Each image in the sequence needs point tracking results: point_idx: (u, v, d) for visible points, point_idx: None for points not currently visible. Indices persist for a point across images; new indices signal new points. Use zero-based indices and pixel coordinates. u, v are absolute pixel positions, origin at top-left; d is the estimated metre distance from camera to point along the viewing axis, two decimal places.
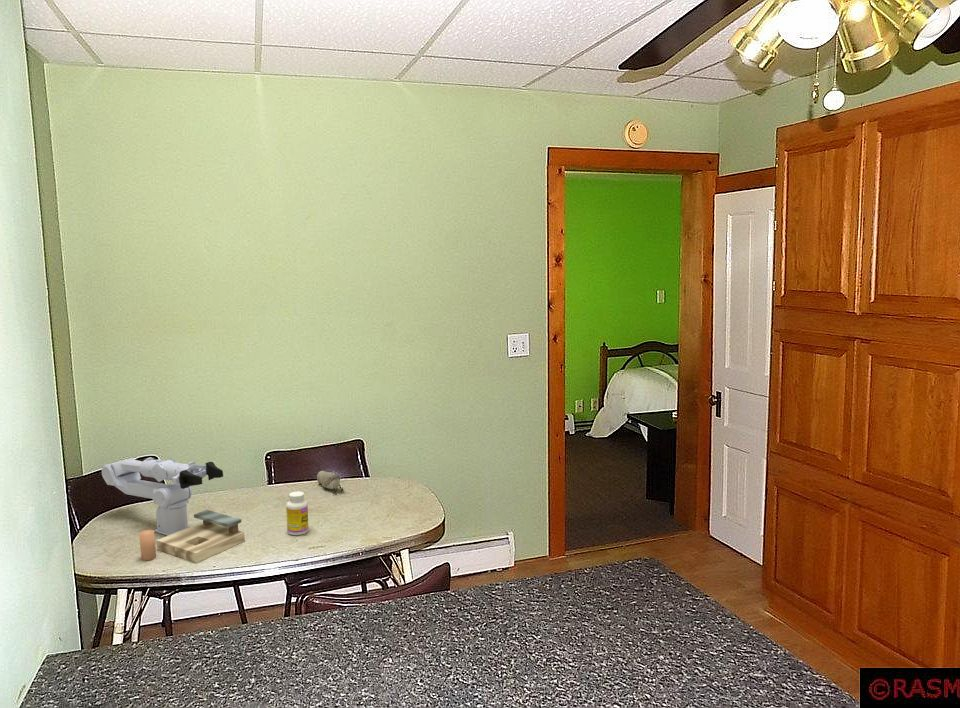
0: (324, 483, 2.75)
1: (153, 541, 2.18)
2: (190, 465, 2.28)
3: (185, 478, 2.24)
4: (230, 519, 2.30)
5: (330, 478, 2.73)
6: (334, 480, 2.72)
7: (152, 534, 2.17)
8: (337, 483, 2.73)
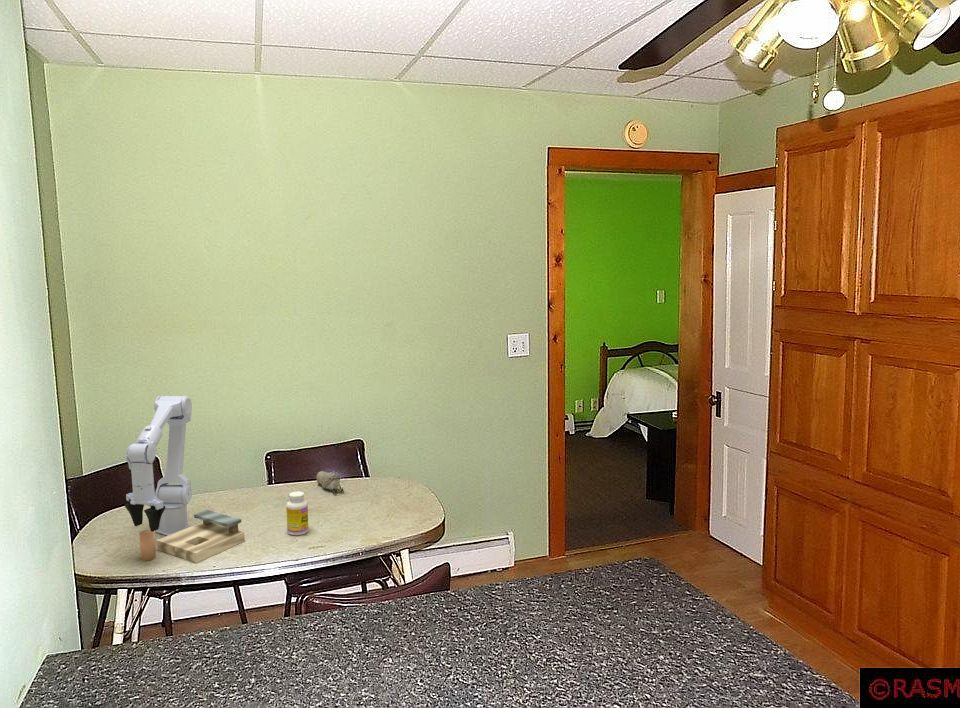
0: (324, 483, 2.75)
1: (153, 541, 2.18)
2: None
3: None
4: (230, 519, 2.30)
5: (330, 478, 2.73)
6: (334, 480, 2.72)
7: (152, 534, 2.17)
8: (337, 483, 2.73)
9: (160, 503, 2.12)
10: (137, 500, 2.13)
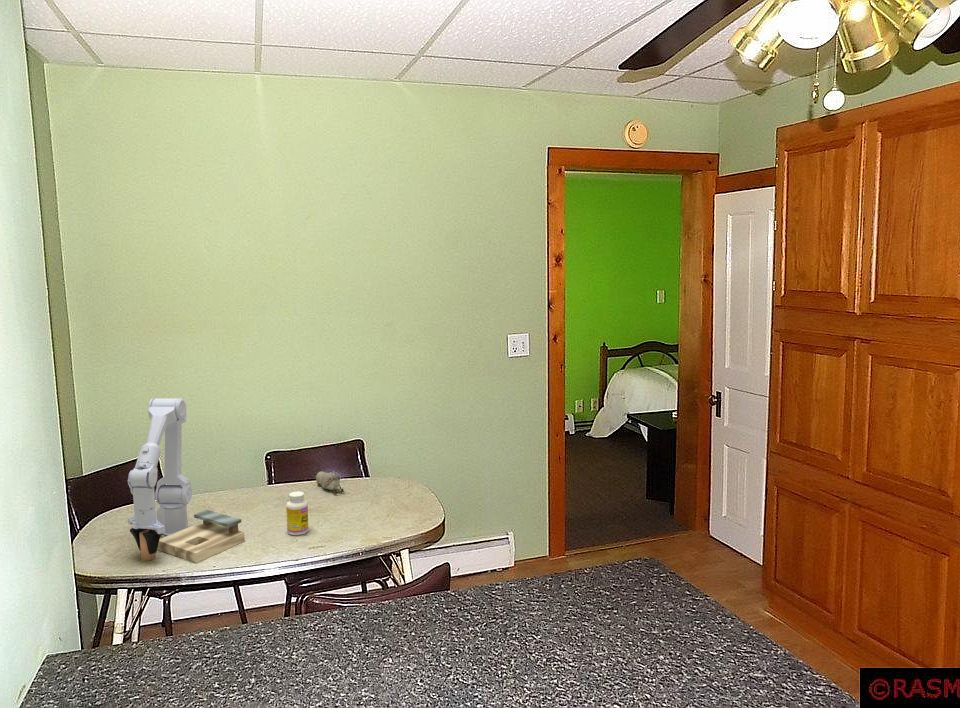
0: (324, 484, 2.74)
1: None
2: None
3: None
4: (230, 519, 2.30)
5: (330, 479, 2.72)
6: (334, 481, 2.72)
7: None
8: (337, 484, 2.73)
9: (162, 527, 2.14)
10: (139, 524, 2.14)
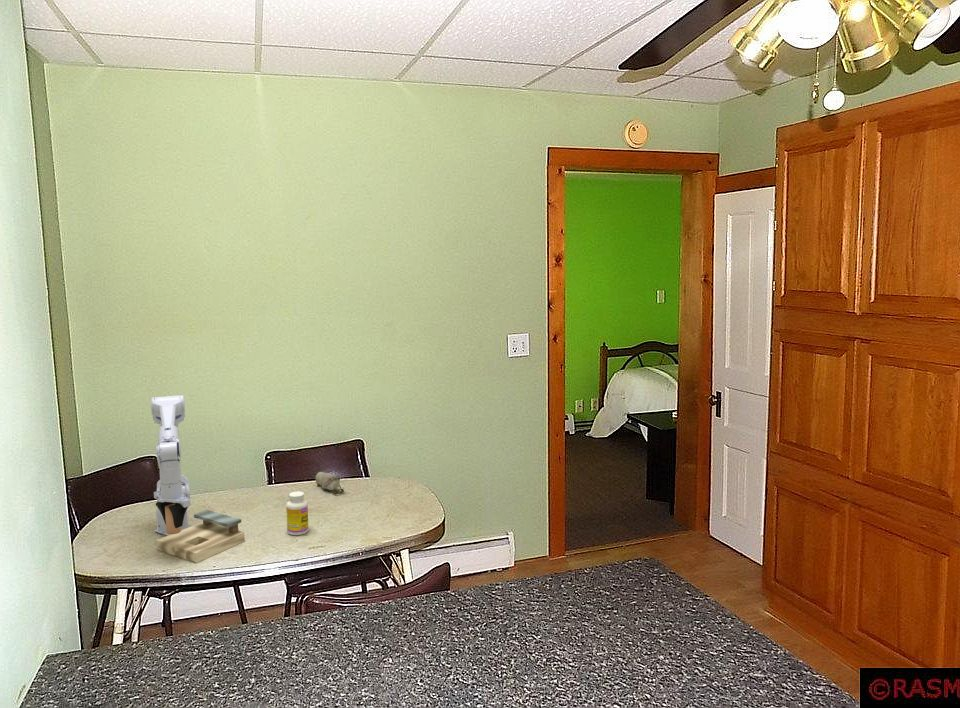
0: (324, 484, 2.74)
1: None
2: None
3: None
4: (230, 519, 2.30)
5: (330, 479, 2.72)
6: (334, 481, 2.71)
7: None
8: (337, 484, 2.72)
9: (187, 501, 2.15)
10: (165, 498, 2.16)
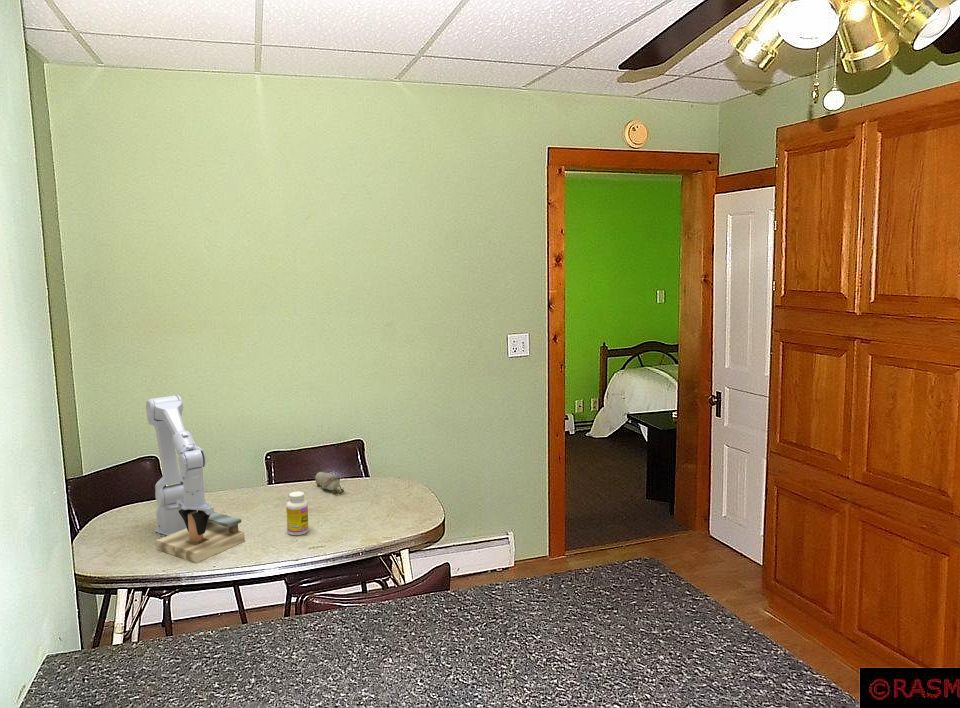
0: (324, 484, 2.74)
1: None
2: None
3: None
4: (230, 519, 2.30)
5: (330, 479, 2.72)
6: (334, 481, 2.71)
7: None
8: (337, 484, 2.72)
9: (211, 508, 2.18)
10: (188, 505, 2.19)
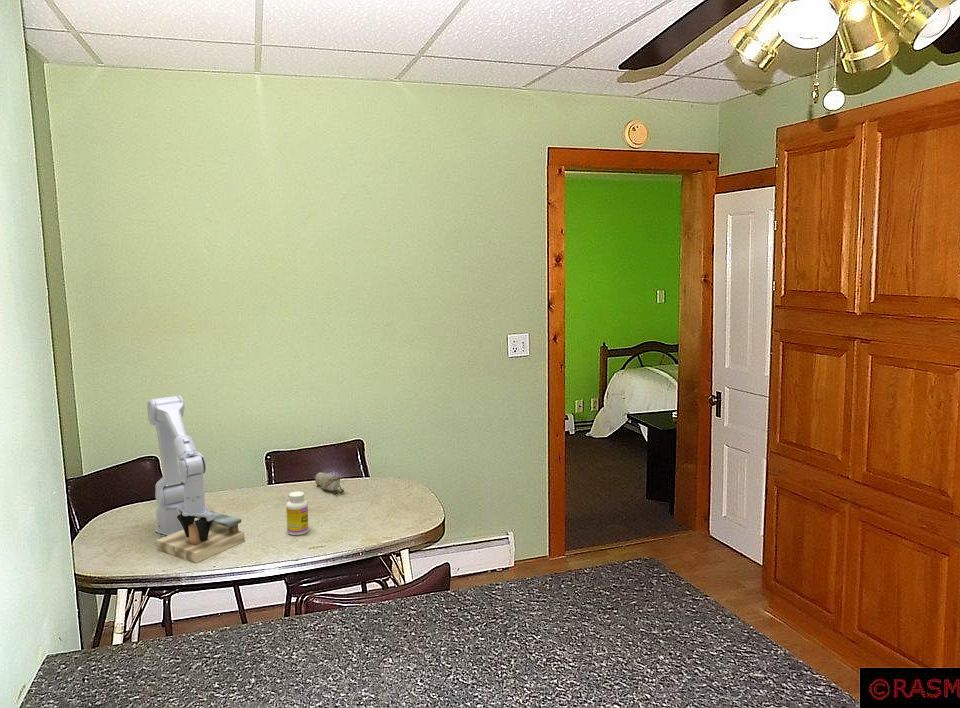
0: (324, 485, 2.73)
1: None
2: None
3: None
4: (230, 519, 2.30)
5: (330, 479, 2.71)
6: (334, 481, 2.71)
7: None
8: (337, 484, 2.72)
9: (211, 515, 2.19)
10: (189, 512, 2.19)
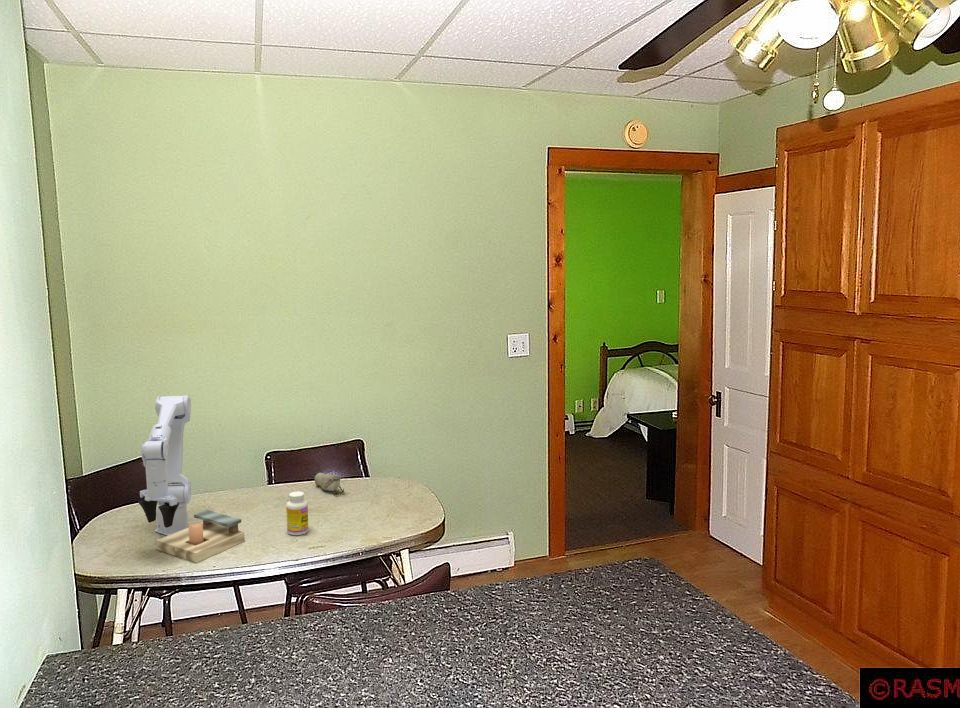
0: (324, 485, 2.73)
1: (201, 534, 2.23)
2: None
3: None
4: (230, 519, 2.30)
5: (330, 480, 2.71)
6: (335, 482, 2.71)
7: (200, 527, 2.22)
8: (337, 484, 2.72)
9: (174, 499, 2.15)
10: (151, 497, 2.16)
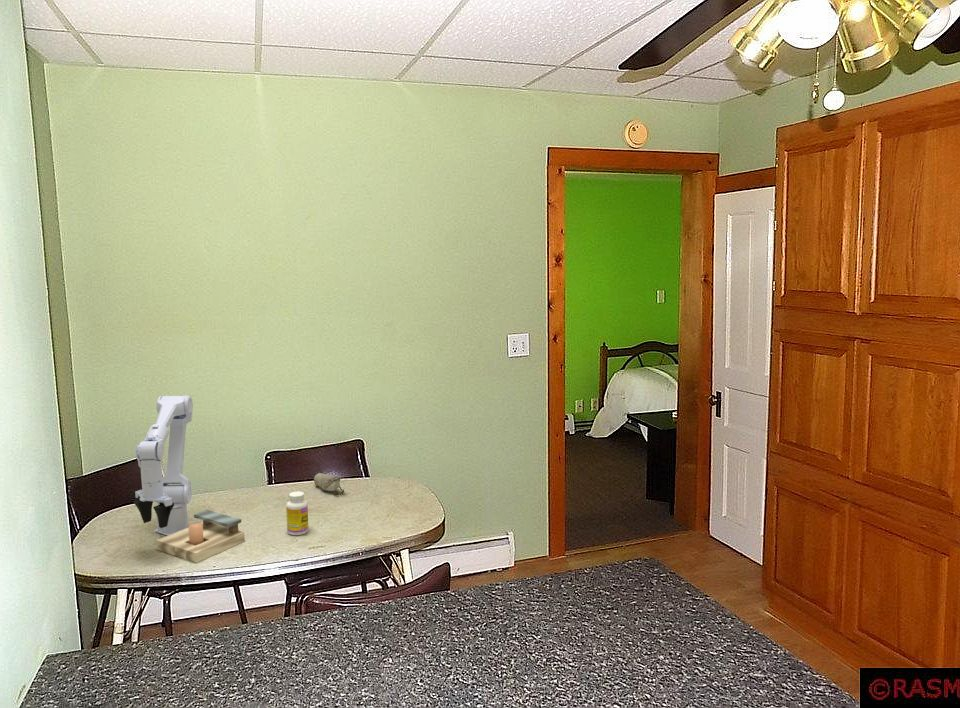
0: (324, 485, 2.72)
1: (201, 534, 2.23)
2: None
3: None
4: (230, 519, 2.30)
5: (330, 480, 2.71)
6: (335, 482, 2.70)
7: (200, 527, 2.22)
8: (338, 485, 2.71)
9: (169, 500, 2.15)
10: (146, 497, 2.16)
